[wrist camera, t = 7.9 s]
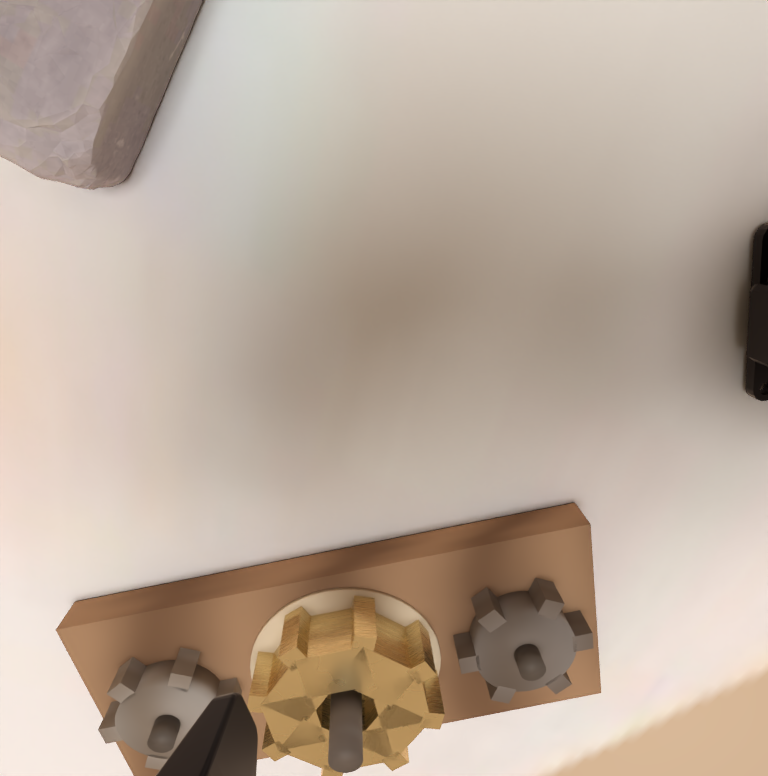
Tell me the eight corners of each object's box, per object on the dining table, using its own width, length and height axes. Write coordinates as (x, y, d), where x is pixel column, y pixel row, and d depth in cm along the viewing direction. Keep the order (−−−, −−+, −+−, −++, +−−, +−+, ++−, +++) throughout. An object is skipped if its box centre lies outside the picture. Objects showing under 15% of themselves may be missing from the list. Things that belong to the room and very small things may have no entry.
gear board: (574, 502, 22) (645, 599, 16) (586, 664, 25) (649, 788, 19) (74, 601, 22) (-11, 728, 17) (149, 749, 25) (97, 894, 20)
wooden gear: (418, 582, 20) (425, 621, 18) (446, 712, 23) (454, 759, 21) (237, 618, 20) (226, 661, 19) (284, 743, 23) (279, 792, 21)
